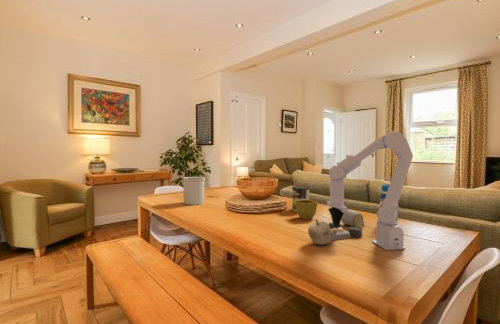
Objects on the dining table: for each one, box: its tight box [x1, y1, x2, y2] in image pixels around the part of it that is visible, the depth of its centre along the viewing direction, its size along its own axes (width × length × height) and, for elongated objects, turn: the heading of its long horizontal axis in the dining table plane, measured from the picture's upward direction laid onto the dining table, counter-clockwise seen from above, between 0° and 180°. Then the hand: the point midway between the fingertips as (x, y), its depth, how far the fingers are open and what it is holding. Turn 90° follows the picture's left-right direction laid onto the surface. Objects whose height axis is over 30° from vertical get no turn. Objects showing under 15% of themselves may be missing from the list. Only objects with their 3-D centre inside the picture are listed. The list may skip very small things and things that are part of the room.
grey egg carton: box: [330, 226, 351, 241], centre depth 117 cm, size 7×10×4 cm
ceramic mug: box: [340, 208, 366, 228], centre depth 132 cm, size 11×8×8 cm
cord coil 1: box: [328, 221, 342, 229], centre depth 125 cm, size 6×6×3 cm
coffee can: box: [291, 185, 310, 212], centre depth 166 cm, size 10×10×14 cm
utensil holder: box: [182, 176, 206, 206], centre depth 186 cm, size 15×15×18 cm
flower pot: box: [295, 199, 318, 220], centre depth 147 cm, size 9×9×9 cm
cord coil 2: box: [347, 226, 363, 239], centre depth 118 cm, size 6×6×3 cm
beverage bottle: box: [379, 183, 400, 223], centre depth 131 cm, size 8×8×20 cm
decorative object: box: [307, 219, 331, 246], centre depth 107 cm, size 9×9×10 cm
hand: (336, 225), depth 116 cm, fingers closed
